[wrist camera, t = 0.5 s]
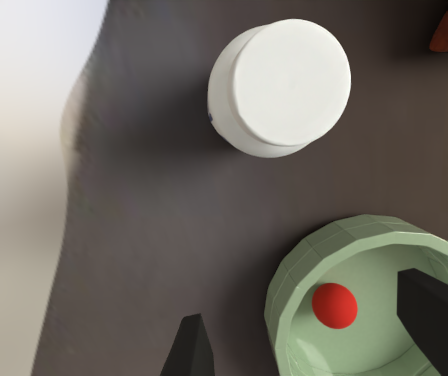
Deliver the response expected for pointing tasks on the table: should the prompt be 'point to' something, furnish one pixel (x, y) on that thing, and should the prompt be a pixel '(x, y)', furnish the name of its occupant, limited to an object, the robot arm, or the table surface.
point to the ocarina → (441, 36)
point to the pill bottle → (278, 87)
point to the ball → (334, 305)
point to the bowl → (363, 292)
